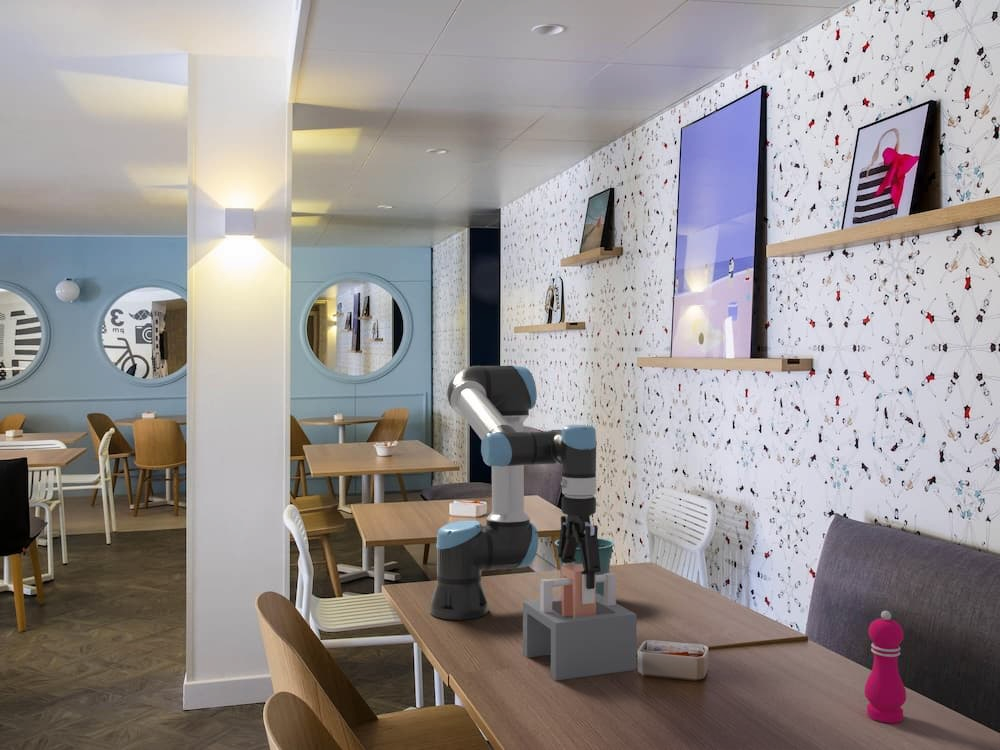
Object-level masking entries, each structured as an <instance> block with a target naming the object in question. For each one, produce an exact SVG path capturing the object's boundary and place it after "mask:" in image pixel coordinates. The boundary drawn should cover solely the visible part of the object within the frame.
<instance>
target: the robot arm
mask: <svg viewBox="0 0 1000 750" xmlns="http://www.w3.org/2000/svg"><path fill="white" fill-rule="evenodd" d="M446 392H447V393H446V394H447V395H446V397H447V402H448V404H449V406H450V407H451V408H452V410H453V411H454V412H455V413H456V414H458V415H460V416H463V418H464V419H465V420H466V421H467V422H468V424H469V425H470V426H471V428H472V430H473V431H474V432H475V433H476V435H477V436H478V438H479V439H480V440H481V445H480V453H481V456H482V460H483V462H484V463H485V465H487V466H488V467H491V512H490V514H488V516H487V517H486V525H482V523H481V522H480V521H478V520H460V521H459V520H458V521H455V522H454V521H453V522H450V523H447V524H444V525H442V526H441V527H440V528H439V529H438V531H437V534H436V535H437V536H436V545H435V547H436V585H435V588H434V591H433V593H432V597H431V601H430V604H429V605H430V607H429V608H430V609H429V610H430V611H429V612H430V614H431V615H432V616H433V617H436V618H439V619H444V620H452V621H453V620H454V621H455V620H457V621H458V620H459V621H460V620H461V621H463V620H472V619H477V618H481V617H483V616H486V615H487V614H488V611H489V610H488V609H489V603H488V601H487V596H486V593H485V591H484V587H483V584H482V571H495V570H497V571H498V570H507V569H509V570H510V569H511V570H512V569H513V570H516V569H518V568H526V567H529V566H531V564H532V563H533V562H534V561H535V559H536V556H537V553H538V547H539V535H538V530H537V527H536V525H535V524H534V523H533V522H530V519H531V518H530V516H529V515H528V514H527V513H526V512H525V490H524V489H525V483H524V482H525V481H524V479H525V475H524V474H525V473H524V472H525V471H524V469H525V468H524V467H525V466H534V465H536V466H537V465H538V466H539V465H540V466H541V465H561V481H560V486H561V493H562V495H563V496H562V497H561V512H562V514H563V515H562V516H560V532H559V539H558V540H559V549H558V554H557V558H558V557H559V558H561V561H562V562H563V565H574V564H575V563H574V562H573V561H576V559H575V558H574V555H575V551H576V547H577V543H578V544H579V548H580V553H581V558H582V563H583V568H584V571H582V572H581V573H582V603H583V604H588V603H595V573H597V572H600V571H601V568H600V558H599V548H598V538H599V537H598V533H599V532H598V529H599V528H598V527H599V526H598V525H597V524H595V525H593V524H592V523H591V518H590V517H591V516H592V515H594V514H596V512H597V498H596V496H595V495H596V494H597V446H598V442H597V432H596V427H594V426H593V425H589V424H587V425H586V424H570V425H569V424H567V425H565V426H563V428H562V429H550V430H546V431H545V430H544V431H524V423H525V421H526V419H528V418H529V417H530V414H529V413H530V412H529V411H530V410H531V409H534V408H535V406H536V404H537V402H536V401H537V400H538V399H537V397H538V395H537V393H538V392H537V385H536V381H535V378H534V376H533V374H532V373H531V371H530V370H529V369H528V368H527V367H525V366H521V365H472V366H468V367H465V368H462V369H461V370H459V371H458V372H457V373H456V374H455V375H454V376H453V377H452V379H450V382H449V383H448V387H447V391H446ZM562 551H563V552H562ZM559 558H558V559H559ZM571 562H572V563H571Z"/></svg>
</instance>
